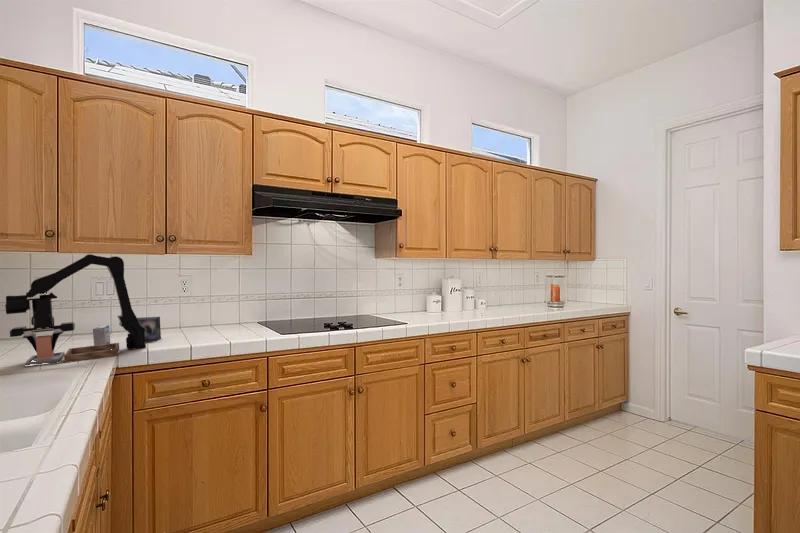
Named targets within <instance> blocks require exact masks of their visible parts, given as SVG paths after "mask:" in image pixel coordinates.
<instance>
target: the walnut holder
mask: <svg viewBox="0 0 800 533" xmlns="http://www.w3.org/2000/svg"><path fill="white" fill-rule="evenodd" d="M111 349H112V350H111ZM118 351H120V343H119V342H114V343H113V342H112V343H111V342H110V344H103V345H95V346H94V345H87V346H79V347H71V348H68V350H67V351H66V352H65V355H64V357H63V359H64V363H70V361H72V362H79V361H88V360H94V359H100V358H101V359H102V358H107V357H109V358H110V357H116V356H117V357H118V356H119V353H118Z"/></svg>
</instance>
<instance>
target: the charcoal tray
mask: <svg viewBox="0 0 800 533" xmlns="http://www.w3.org/2000/svg"><path fill="white" fill-rule="evenodd" d="M65 354H66V352H65V351H59V352H54V356H53V357H51V358H43V359H37V354H36V355H32V356H30V357H29V359H27V361H26V362H25V363H24V366H25V365H30V364H42V363H55V364H58V363H57V362H60V361H61V362H62V361H63V359H64V355H65ZM32 360H34V361H36V362H31V361H32ZM61 362H60V363H61Z"/></svg>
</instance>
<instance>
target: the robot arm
mask: <svg viewBox="0 0 800 533" xmlns="http://www.w3.org/2000/svg"><path fill="white" fill-rule="evenodd" d="M91 265H96V266H102V267H103V266H104V267H106V269H107V271H108V273H109V274H110V276H111V277H112V280H113V281H112V282H113V283H114V287H115V288H114V289H115V292H116V296H117V298H118V304H119V307H120V315H117V318H118V321H119V324H118V325H119V326H120V327H122V328H123V330H125V331H127V336H126V338H125V341H126V342H125V343H126V344H125V345H126V348H127V350H129V349H130V350H134V349H135V350H136V349H144V348H146V347H147V345H146V342H145V328H143V327H142V326H141V325H139V322H138V320H137V318H138V317H137V316H136V314H135V312H134V310H133V308H132V305H131V300H130V297H129V293H128V289H127V284H126V281H125V262H124V260H123V258H121V257H120V256H110V257H105V256H100V255H94V254H92V253H91V254H88V253H87V254H86V255H84V257H82V258H80V259H78V260H76V261H75V262H72V263H71V264H68V265H66V266H65V267H63V268H61V269H59V270H57V271H56V272H53V273H50V274H47V275H44V276H42V277H41V276H40V277H38V278H36V279H34V280H33V281H32V282H31V284H30V288H29V290H28V291H27V292H26V294H21V295H6V296H5V306H4V307H5V313H6V315H14V314H15V315H16V314H24V313H25V314H26V313H27V311H28V310H29V311H30V310H31V309H32V317H31V321H30V323H31V325H32V326H33V327H28V328H27V326H18V327H17V326H16V327H13V328H11V329H10V330H9V337H10V338H15V337H22V339H27V341H28V342H29V343H30V344H31V346H32V347H33V349H34V351H35V352H36V354H37V349H36V338H37V334H36V333H43V332H44V333H45V332H51V331H53V333H52V334H51V335H52V351H54V350H55V348H56V345H57V342H58V339H59V338H60V335H62V334H64V332H71V331H74V330H75V329H76V324H75V322H73V321H70V322H69V321H68V322H62V323H60V324H59V325H55V317H54V316H53V308H52V307H53V305H52V304H53V303H52V300H53V299H57V298H58V296H57V295H55V294H54V292H50V293H49V294H47V293H48V292H49V291H50V290H51V289H53V288H54V287H55V286H57V285H58V284H59V283H60V282H61V281H63V280H65V279H66V278H69V277H70V276H72V275H74V274H76V273H77V272H80V271H81V270H83V269H85V268H87V267H88V266H91ZM38 294H39V295H38ZM37 295H38V296H39V297H35V296H37ZM30 301H31V303H30ZM31 306H32V308H31ZM130 350H129V351H130Z"/></svg>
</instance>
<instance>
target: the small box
mask: <svg viewBox="0 0 800 533" xmlns="http://www.w3.org/2000/svg"><path fill="white" fill-rule="evenodd" d="M137 320H138V322H139V325H141V326H142V327H143V328H145V343H146V342H157V341H160V339H162V333H161V331H162V330H161V316H149V317H148V316H147V317H137Z"/></svg>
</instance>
